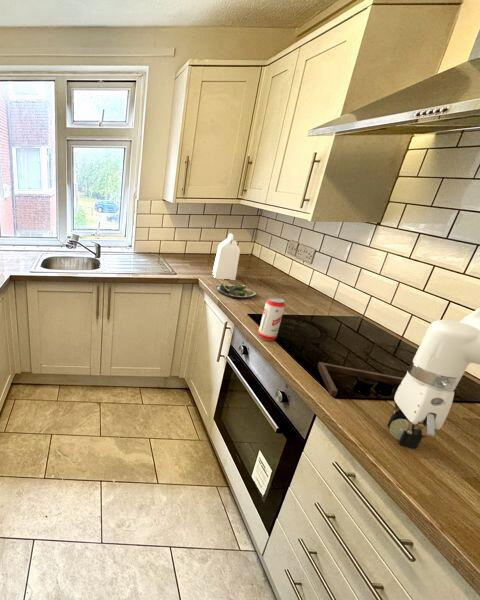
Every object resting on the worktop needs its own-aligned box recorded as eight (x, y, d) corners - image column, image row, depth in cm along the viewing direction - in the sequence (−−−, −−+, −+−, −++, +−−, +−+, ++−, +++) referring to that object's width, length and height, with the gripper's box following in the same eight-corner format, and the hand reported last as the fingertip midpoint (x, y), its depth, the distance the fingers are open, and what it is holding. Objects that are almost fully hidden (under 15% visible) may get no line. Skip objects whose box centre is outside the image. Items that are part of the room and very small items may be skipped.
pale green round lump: (411, 448, 74) (420, 432, 72) (384, 435, 77) (392, 419, 75) (416, 439, 76) (424, 423, 74) (389, 427, 80) (397, 411, 78)
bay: (404, 383, 96) (407, 378, 95) (433, 418, 83) (436, 412, 82) (317, 367, 104) (318, 361, 103) (330, 395, 91) (332, 390, 90)
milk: (212, 273, 201) (219, 232, 191) (231, 274, 198) (239, 233, 188) (214, 278, 190) (222, 235, 180) (235, 280, 187) (244, 236, 177)
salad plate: (236, 285, 179) (238, 277, 177) (264, 295, 164) (266, 287, 162) (210, 289, 172) (211, 281, 170) (237, 301, 157) (238, 292, 155)
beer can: (278, 338, 122) (289, 300, 116) (270, 343, 118) (281, 304, 112) (262, 332, 127) (272, 295, 120) (254, 336, 123) (263, 298, 117)
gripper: (483, 403, 61) (442, 470, 68) (433, 358, 75) (403, 418, 82) (432, 393, 64) (397, 459, 70) (393, 352, 78) (367, 410, 85)
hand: (401, 436), depth 76 cm, fingers closed on pale green round lump, 5 cm apart
